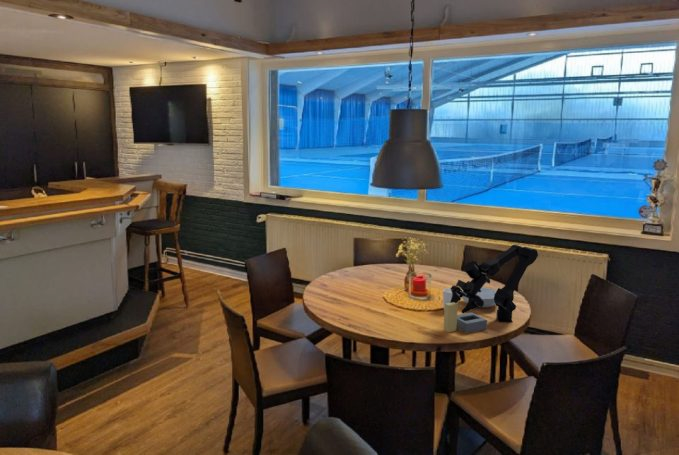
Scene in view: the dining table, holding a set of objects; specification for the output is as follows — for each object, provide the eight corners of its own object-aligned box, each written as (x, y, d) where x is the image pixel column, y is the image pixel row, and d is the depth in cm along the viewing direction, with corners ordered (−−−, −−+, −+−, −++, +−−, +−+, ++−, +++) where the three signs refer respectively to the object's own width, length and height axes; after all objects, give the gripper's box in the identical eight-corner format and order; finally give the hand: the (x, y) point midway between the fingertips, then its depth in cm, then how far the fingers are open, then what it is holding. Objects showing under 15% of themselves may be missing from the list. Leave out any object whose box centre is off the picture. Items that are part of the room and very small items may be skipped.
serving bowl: (499, 300, 285) (500, 288, 283) (500, 313, 265) (501, 300, 264) (460, 296, 290) (461, 284, 289) (459, 309, 270) (459, 296, 269)
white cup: (450, 312, 265) (451, 294, 263) (439, 308, 271) (439, 290, 269) (460, 309, 269) (461, 291, 267) (449, 305, 275) (450, 287, 274)
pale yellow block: (452, 328, 244) (453, 302, 241) (456, 330, 241) (457, 304, 239) (443, 330, 242) (444, 303, 239) (447, 332, 239) (448, 305, 237)
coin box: (471, 321, 254) (471, 312, 253) (486, 328, 244) (487, 319, 243) (451, 324, 248) (451, 315, 248) (466, 332, 239) (466, 323, 238)
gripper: (454, 268, 248) (434, 293, 246) (480, 279, 232) (459, 305, 229) (466, 282, 253) (447, 307, 250) (493, 294, 236) (472, 320, 234)
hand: (455, 309), depth 241 cm, fingers open, 9 cm apart
